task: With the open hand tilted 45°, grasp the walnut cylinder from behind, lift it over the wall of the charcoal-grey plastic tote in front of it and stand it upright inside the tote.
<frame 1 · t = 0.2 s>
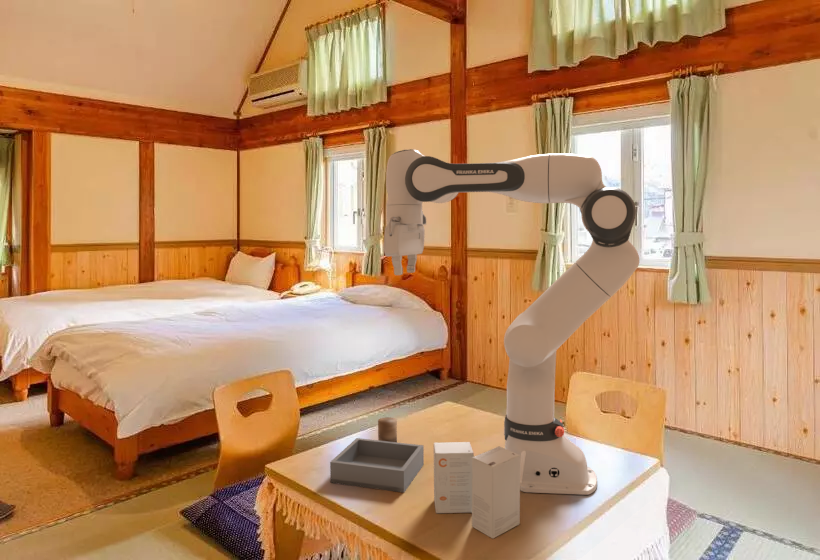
hand: (405, 273, 143), 48 cm above the table, tool pointing down, fingers open, 8 cm apart
small box: (453, 507, 123), on the table
tote: (378, 473, 140), on the table
walnut cylinder: (387, 449, 155), on the table
skincare box: (495, 528, 114), on the table
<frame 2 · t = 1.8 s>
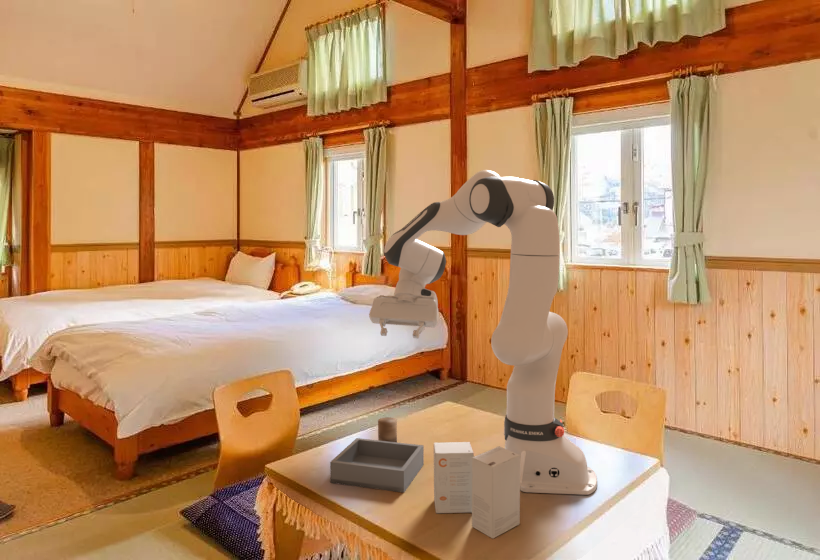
hand: (399, 336, 163), 29 cm above the table, tool tilted 45°, fingers open, 8 cm apart
nothing on the table moved.
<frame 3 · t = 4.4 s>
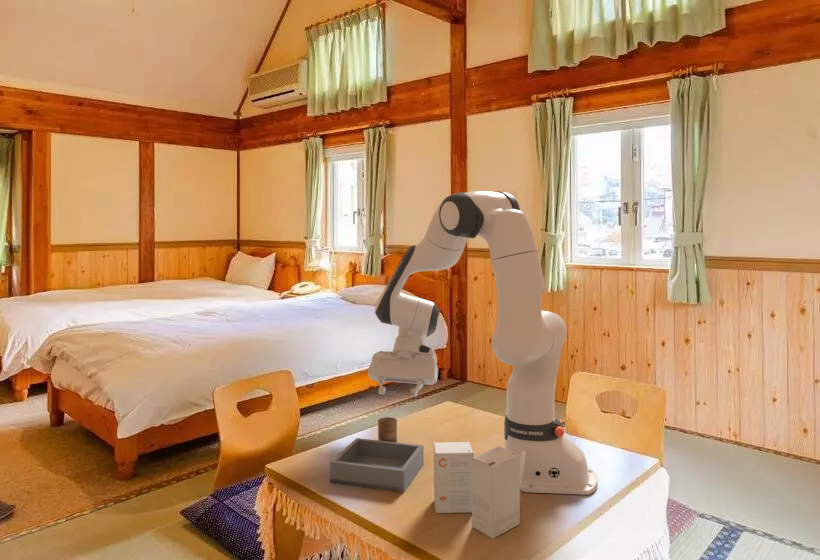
hand: (397, 394, 162), 13 cm above the table, tool tilted 45°, fingers open, 8 cm apart
nothing on the table moved.
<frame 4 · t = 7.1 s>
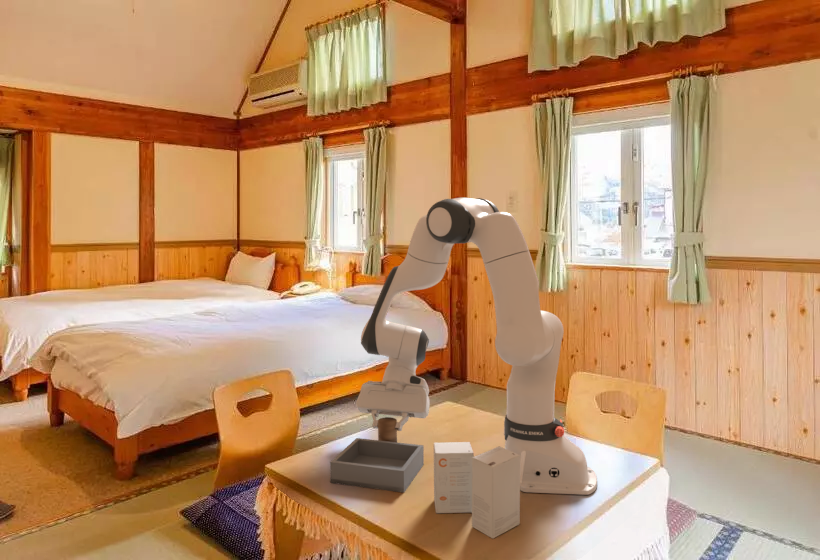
hand: (386, 428, 154), 6 cm above the table, tool tilted 45°, fingers closed on walnut cylinder, 5 cm apart
walnut cylinder: (387, 449, 155), on the table, touching gripper
everything else where it was.
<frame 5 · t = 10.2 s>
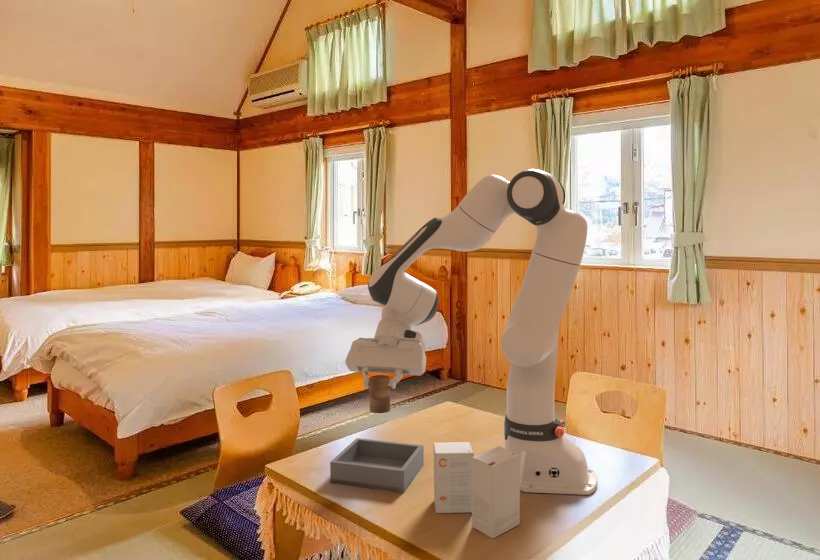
hand: (378, 386, 139), 21 cm above the table, tool tilted 45°, fingers closed on walnut cylinder, 5 cm apart
walnut cylinder: (380, 410, 140), point 15 cm above the table, touching gripper
everything else where it was.
when the fingers open (8 cm above the table, at t = 13.4 s): walnut cylinder stays where it is, resting on tote.
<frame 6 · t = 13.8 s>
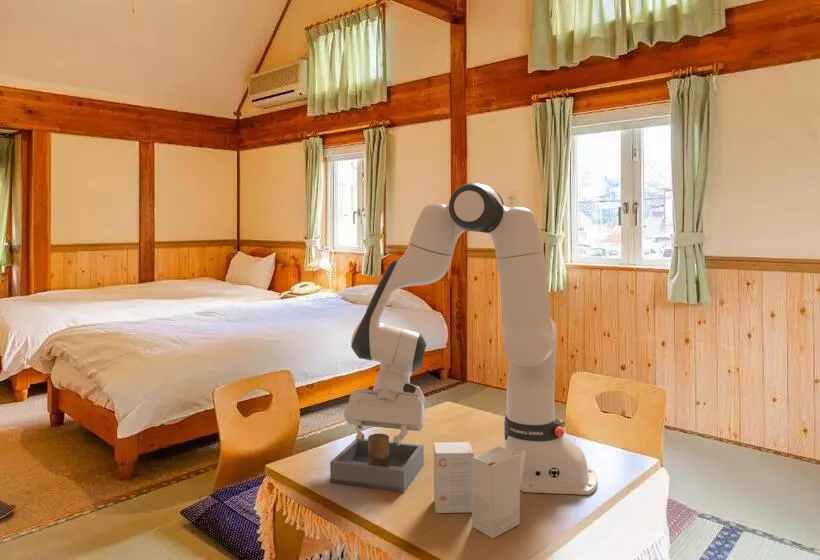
hand: (377, 442, 138), 8 cm above the table, tool tilted 45°, fingers open, 8 cm apart
walnut cylinder: (378, 469, 140), point 1 cm above the table, touching tote
everything else where it was.
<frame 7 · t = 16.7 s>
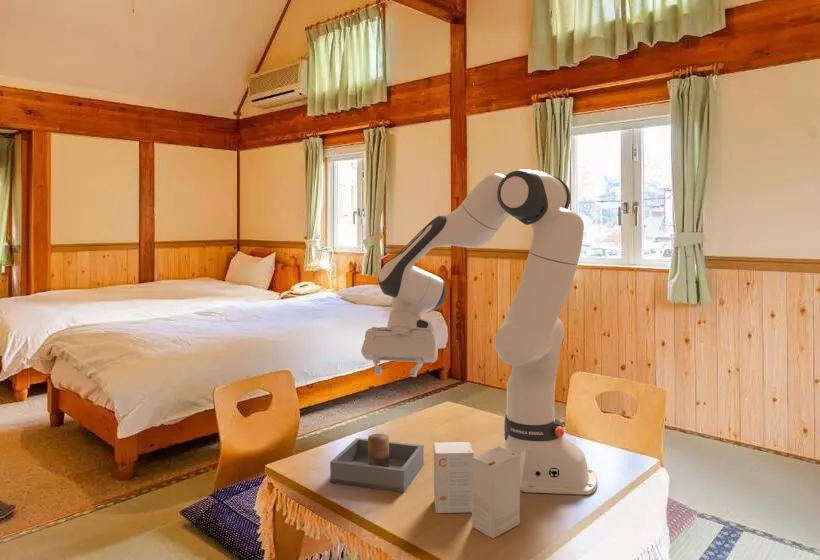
hand: (395, 374, 149), 21 cm above the table, tool tilted 40°, fingers open, 8 cm apart
nothing on the table moved.
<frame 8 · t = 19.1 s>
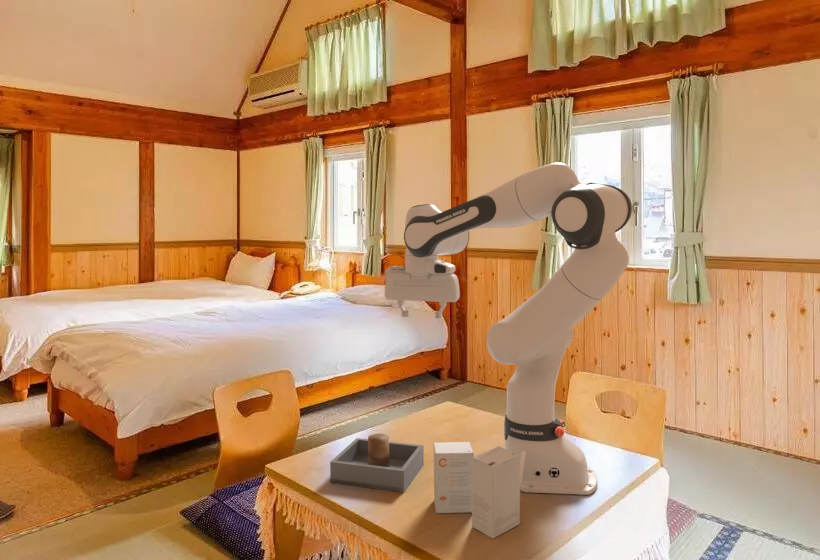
hand: (421, 317, 155), 35 cm above the table, tool pointing down, fingers open, 8 cm apart
nothing on the table moved.
at the end: walnut cylinder inside the target area on the tote (0.1 cm from its centre), point 1.0 cm above the tote's base; walnut cylinder tilted 0°; the gripper is holding nothing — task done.
